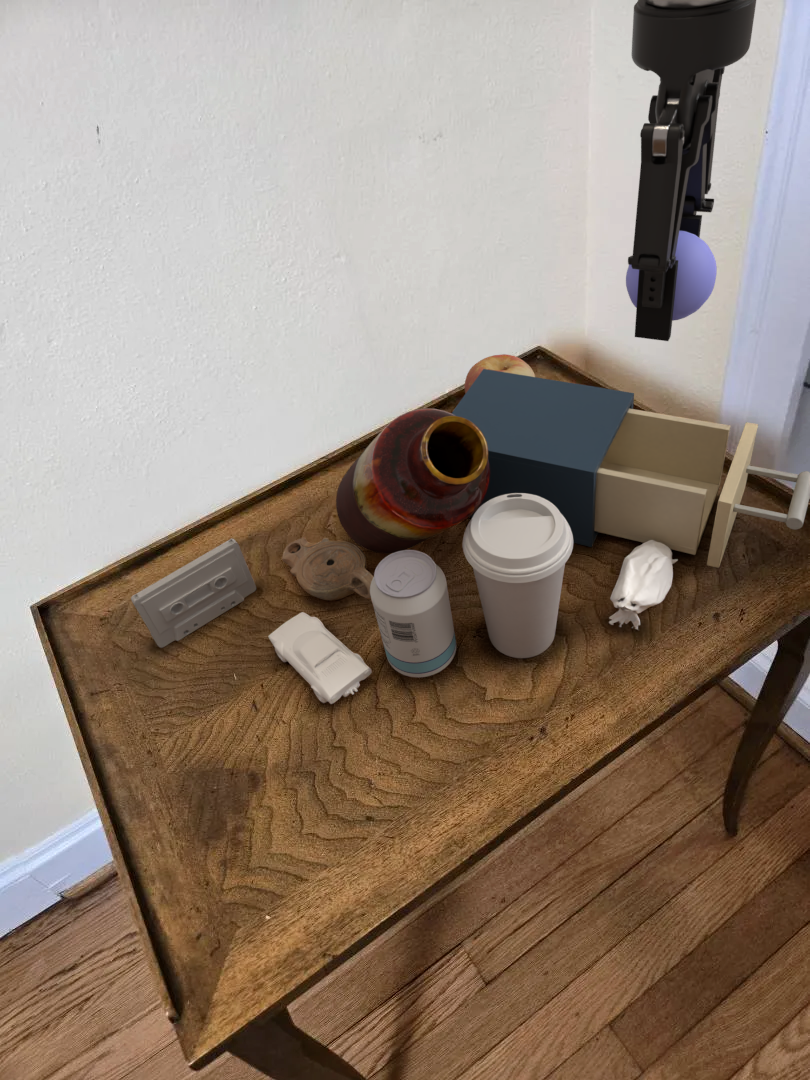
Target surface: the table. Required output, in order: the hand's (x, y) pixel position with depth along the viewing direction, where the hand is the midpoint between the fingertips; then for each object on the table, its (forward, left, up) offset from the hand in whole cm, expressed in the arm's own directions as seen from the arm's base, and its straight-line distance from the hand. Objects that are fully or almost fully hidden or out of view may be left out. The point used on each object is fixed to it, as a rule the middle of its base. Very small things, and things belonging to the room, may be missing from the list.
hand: (664, 311), depth 67 cm
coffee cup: (+7, +17, -27) cm, 32 cm away
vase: (+28, +9, -24) cm, 37 cm away
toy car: (+24, +28, -27) cm, 45 cm away
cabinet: (+13, -3, -26) cm, 30 cm away
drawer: (-3, -3, -26) cm, 26 cm away
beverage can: (+15, +23, -27) cm, 38 cm away
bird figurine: (-2, +8, -27) cm, 28 cm away
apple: (+22, -15, -27) cm, 38 cm away
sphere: (0, 0, 0) cm, 0 cm away
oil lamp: (+28, +18, -27) cm, 43 cm away
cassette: (+39, +27, -27) cm, 55 cm away
